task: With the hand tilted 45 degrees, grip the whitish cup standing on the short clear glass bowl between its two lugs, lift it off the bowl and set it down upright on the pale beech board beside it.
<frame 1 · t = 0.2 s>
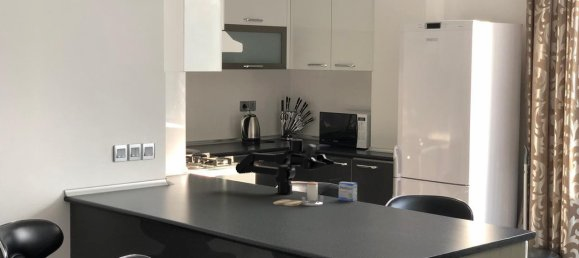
hand: (330, 163, 391), 17 cm above the kitchen counter, tool horizontal, fingers open, 9 cm apart
clear glass bowl: (312, 204, 374), on the kitchen counter
medicine box: (347, 200, 385), on the kitchen counter
board: (288, 203, 375), on the kitchen counter
whitish cup: (312, 199, 374), point 2 cm above the kitchen counter, touching clear glass bowl
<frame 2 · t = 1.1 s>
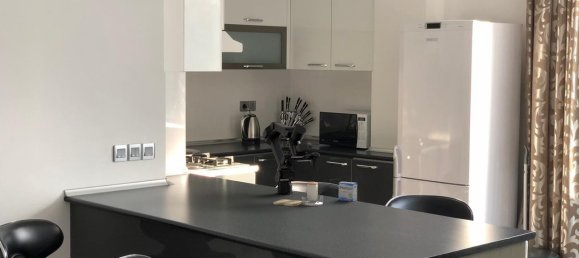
hand: (305, 172, 380), 14 cm above the kitchen counter, tool tilted 45°, fingers open, 9 cm apart
nothing on the kitchen counter moved.
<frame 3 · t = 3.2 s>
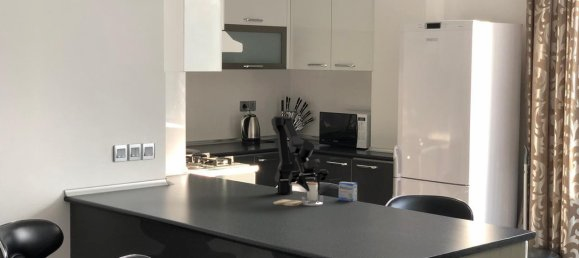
hand: (313, 190, 372), 7 cm above the kitchen counter, tool tilted 45°, fingers closed on whitish cup, 5 cm apart
whitish cup: (312, 199, 374), point 2 cm above the kitchen counter, touching gripper, clear glass bowl
everything else where it was.
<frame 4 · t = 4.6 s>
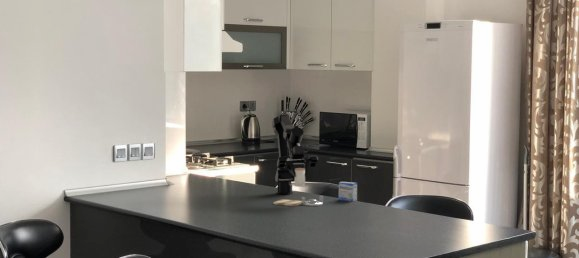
hand: (300, 176, 371), 13 cm above the kitchen counter, tool tilted 45°, fingers closed on whitish cup, 5 cm apart
whitish cup: (299, 185, 373), point 9 cm above the kitchen counter, touching gripper
everything else where it was.
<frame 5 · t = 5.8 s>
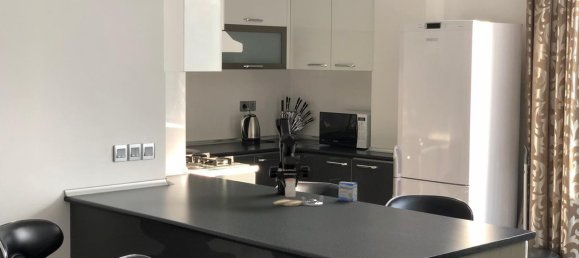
hand: (290, 186, 372), 8 cm above the kitchen counter, tool tilted 45°, fingers closed on whitish cup, 5 cm apart
whitish cup: (290, 196, 373), point 4 cm above the kitchen counter, touching gripper
everything else where it was.
when the fingers open (6 cm above the kitchen counter, at t = 6.5 s): whitish cup stays where it is, resting on board.
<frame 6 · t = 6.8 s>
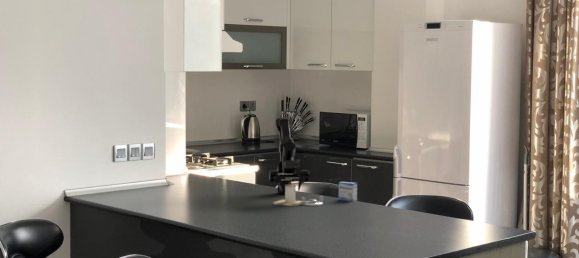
hand: (290, 190, 372), 7 cm above the kitchen counter, tool tilted 45°, fingers open, 7 cm apart
whitish cup: (290, 202, 374), point 1 cm above the kitchen counter, touching board
everything else where it was.
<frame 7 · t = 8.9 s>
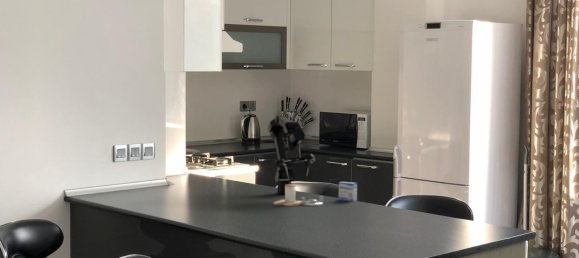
hand: (297, 178, 385), 11 cm above the kitchen counter, tool tilted 20°, fingers open, 9 cm apart
nothing on the kitchen counter moved.
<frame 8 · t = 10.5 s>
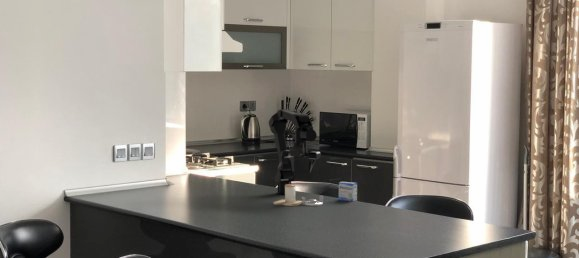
hand: (301, 171, 388), 13 cm above the kitchen counter, tool pointing down, fingers open, 9 cm apart
nothing on the kitchen counter moved.
at the end: whitish cup inside the target area on the board (1.8 cm from its centre), point 1.1 cm above the board's base; whitish cup tilted 2°; the gripper is holding nothing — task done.
